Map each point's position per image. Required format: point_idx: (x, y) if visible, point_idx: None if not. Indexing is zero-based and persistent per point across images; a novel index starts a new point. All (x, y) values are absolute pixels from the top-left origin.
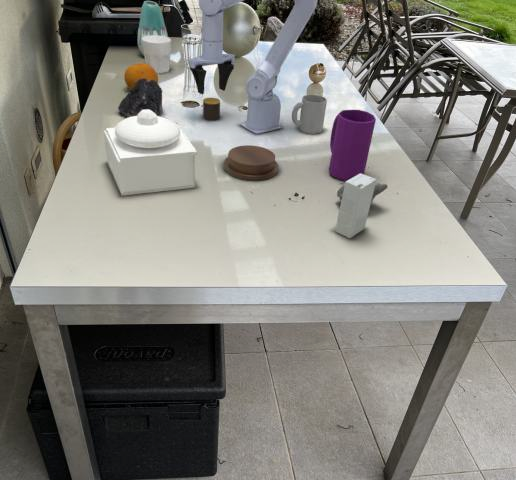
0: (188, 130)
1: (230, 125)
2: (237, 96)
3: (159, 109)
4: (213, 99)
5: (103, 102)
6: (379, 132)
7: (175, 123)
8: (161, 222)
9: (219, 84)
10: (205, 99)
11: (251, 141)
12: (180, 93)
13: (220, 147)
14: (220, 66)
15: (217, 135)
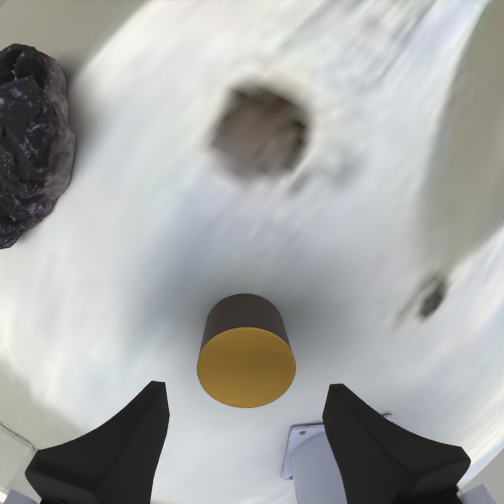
0: (95, 375)
1: (261, 413)
2: (487, 176)
3: (32, 216)
4: (266, 365)
5: (7, 21)
6: (470, 478)
7: (5, 495)
8: None
9: (338, 398)
10: (222, 346)
11: (237, 491)
12: (305, 2)
13: None
14: (383, 492)
15: (168, 443)
